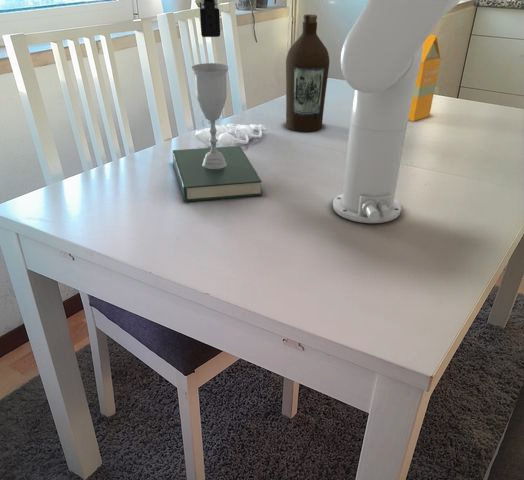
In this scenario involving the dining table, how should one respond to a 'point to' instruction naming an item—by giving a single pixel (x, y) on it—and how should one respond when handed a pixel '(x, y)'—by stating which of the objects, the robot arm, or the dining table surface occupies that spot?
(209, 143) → the tangled rod sculpture
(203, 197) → the book
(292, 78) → the olive oil
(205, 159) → the chalice
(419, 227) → the dining table surface
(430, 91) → the orange juice
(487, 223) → the dining table surface
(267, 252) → the dining table surface
